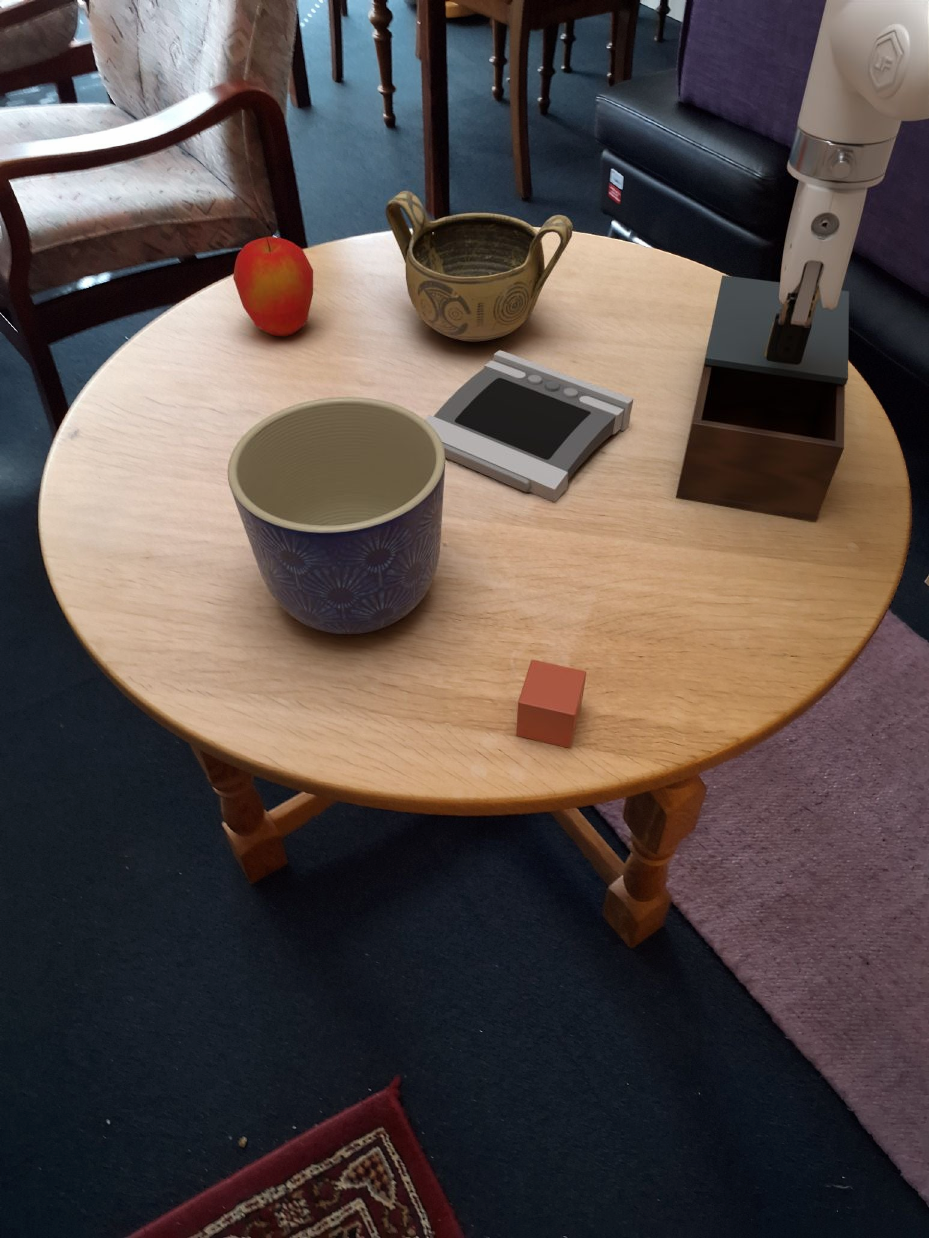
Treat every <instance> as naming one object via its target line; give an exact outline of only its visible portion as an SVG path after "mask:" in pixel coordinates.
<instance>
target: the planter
mask: <svg viewBox="0 0 929 1238" xmlns="http://www.w3.org/2000/svg"><path fill="white" fill-rule="evenodd" d="M445 475H446V458H445V451H444V447H443V444H442V441H441V439H440V437H439V435H438V434H437V433H436V431H435V430H434V429H433V428H432V426H431V425H430V424H429V423H428V422H426V421H425V419H424V418H423V417H421V416H420V415H418V414H417V413H415V412H413V411H412V410H410V409H408V408H405V407H403V406H401V405H398V404H395V403H392V402H389V401H385V400H382V399H381V400H380V399H376V398H370V397H369V398H368V397H359V396H337V397H325V398H319V399H313V400H308V401H304V402H301V403H297V404H294V405H290V406H288V407H286V408H283V409H280V410H277V412H274V413H272V414H270V415H268V416H266V417H265V418H264V419H263V418H262V420H261V421H259V422H258V423H256V424H254V425H253V426H252V427H251V428H250V429H249V430H247V432H246V433H245V434H244V435H242V437H241V438H240V439H239V440H238V442H237V443H236V445H235V447H234V448H233V450H232V452H231V454H230V457H229V460H228V464H227V481H228V485H229V489H230V491H231V494H232V497H233V500H234V503H235V505H236V508H237V511H238V514H239V516H240V519H241V522H242V525H243V528H244V531H245V534H246V536H247V540H248V542H249V546H250V547H251V550H252V553H253V557H254V559H255V561H256V564H257V567H258V570H259V572H260V575H261V577H262V579H263V582H264V584H265V586H266V587H267V589H268V591H269V593H270V594H271V596H272V597H273V599H274V600H275V601H276V602H277V604H278V605H279V606H280V607H281V608H282V609H283V610H284V611H285V612H286V613H287V614H288V615H290V616H291V617H293V618H294V619H296V621H298V622H300V623H302V624H303V625H305V626H307V627H310V628H312V629H315V630H318V631H321V632H326V633H329V634H335V635H359V634H367V633H370V632H374V631H377V630H381V629H383V628H386V627H388V626H391V625H393V624H394V623H396V622H398V621H399V620H401V619H403V618H404V617H406V616H407V615H408V614H409V613H411V612H412V611H413V610H414V609H415V608H416V607H417V606H418V605H419V604H420V602H421V601H422V600H423V599H424V598H425V595H426V594H427V592H428V591H429V589H430V586H431V585H432V583H433V580H434V578H435V575H436V573H437V569H438V564H439V560H440V554H441V544H442V543H441V542H442V541H441V540H442V525H443V510H444V509H443V507H444V493H445V491H444V490H445V477H446V476H445Z"/></svg>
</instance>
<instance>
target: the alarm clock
mask: <svg viewBox="0 0 929 1238" xmlns="http://www.w3.org/2000/svg"><path fill="white" fill-rule="evenodd" d="M633 404H634V398H633V397H630V396H627V395H624V394H621V393H619V392H616V391H614V390H610V389H608V388H605V387H602V386H599V385H597V384H594V383H591V382H589V381H585V380H583V379H580V378H577V377H575V376H572V375H569V374H566V373H563V372H560V371H558V370H555V369H553V368H551V367H548V366H544V365H542V364H539V363H537V362H534V361H531V360H528V359H525V358H523V357H520V356H517V355H514V354H512V353H509V352H506V351H503V350H501V349H499V350H498V351H496V352H495V353H493V359H492V360H490V361H488V362H487V363H485V364H484V367H483V368H482V369H481V370H480V371H478V372H477V373H475V374H474V375H473V376H472V377H470V378H469V379H468V380H467V381H466V382H465V383H464V384H463V385H462V386H461V387H459V388H458V389H457V390H456V391H455V392H454V393H453V395H451V397H449V398H448V399H447V401H445V403H444V404H443V405H442V406H441V407H440V408H439V409H438V410H437V412H435V414H434V415H431V414H428V415H427V417H426V418H425V419H424V420H425V421H426V422H428V423H429V424H430V425H431V426H432V428H433V429H434V430H435V431H436V433H437V434H438V435H439V437H440V439H441V441H442V444H443V447H444V451H445V459H448V460H450V461H452V462H455V463H457V464H459V465H462V466H464V467H467V468H468V469H470V470H473V471H475V472H478V473H480V474H482V475H484V476H487V477H489V478H492V479H494V480H495V481H499V482H501V483H503V484H505V485H508V486H510V487H512V488H515V489H517V490H519V491H522V492H526V493H528V492H530V493H531V494H534V495H536V496H538V497H541V498H544V499H545V500H548V501H550V502H552V503H556V502H557V501H558V500H559V498H560V497H562V495H563V494H564V493H565V491H566V490H567V489H568V483H569V480H570V479H571V477H572V476H573V475H574V474H575V472H576V471H577V470H578V469H579V468H580V466H581V465H582V464H583V463H584V462H585V461H586V460H587V459H588V457H589V456H590V455H592V453H594V451H595V450H596V449H598V448H599V446H600V445H602V443H603V442H605V441H606V440H607V439H608V438H609V437H610V436H611V435H616V434H617V433H618V432H619V431H622V432H624V431H625V430H626V429H627V428H628V427H629V426H630V420H631V415H632V411H633V410H632V409H633Z"/></svg>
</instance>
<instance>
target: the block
mask: <svg viewBox="0 0 929 1238" xmlns="http://www.w3.org/2000/svg"><path fill="white" fill-rule="evenodd" d="M586 678H587V671H585V670H582V669H576V668H572V667H569V666H568V667H567V666H564V665H558V664H554V663H549V662H545V661H539V660H537V659H536V660H535V659H531V660H530V663H529V666H528V670H527V672H526V675H525V679H524V682H523V686H522V688H521V692H520V695H519V698H518V701H517V715H516V730H515V735H516V737H521V738H524V739H525V738H526V739H529V740H533V741H538V742H542V743H546V744H550V745H555V746H560V747H564V748H568V749H570V748H572V744H573V740H574V737H575V733H576V729H577V725H578V722H579V721H578V720H579V717H580V713H581V709H582V704H583V697H584V691H585V685H586Z"/></svg>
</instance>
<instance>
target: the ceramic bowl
mask: <svg viewBox="0 0 929 1238" xmlns="http://www.w3.org/2000/svg"><path fill="white" fill-rule="evenodd" d="M402 210H403V211H402ZM403 212H404V213H403ZM404 214H405V215H406V217H407V219H408V221H409V224H410V226H411V230H412V232H411V230H410V228H409V225H408V223H407V220H406V219H405V217H404ZM385 217H386V220H387V223H388V225H389V227H390V229H391V232H392V234H393V236H394V239H395V240H396V243H397V245H398V248H399V250H400V253H401V256H402V258H403V261H404V263H405V267H404V268H405V283H406V288H407V293H408V296H409V298H410V301H411V304H412V306H413V308H414V309H415V312H416V313H417V314H418V316H419V318H420V319H421V320H422V321H423V322H424V323H425V324H426V325H428V326H429V327H430V328H432V329H433V330H434V331H436V332H438V333H439V334H441V335H443V336H446V337H448V338H450V339H454V340H459V341H463V342H472V343H473V342H474V343H476V342H477V343H479V342H487V341H491V340H495V339H499V338H501V337H505V336H507V335H509V334H511V333H512V332H514V331H516V330H517V329H518V328H519V327H520V326H522V325H523V324H524V323H525V322H526V321H527V320H528V318H529V317H530V316H531V314H532V312H533V311H534V309H535V306H536V304H537V302H538V299H539V297H540V294H541V292H542V290H543V287H544V285H545V283H546V282H547V280H548V278H549V277H550V275H551V273H552V271H553V270H554V268H555V266H556V265H557V263H558V262H559V259H560V258H561V257H562V254H563V253H564V251H565V250H566V248H567V246H568V244H569V243H570V241H571V239H572V237H573V229H574V226H573V223H572V222H571V221H572V220H570V218H569V217H567V216H566V215H561V214H556V215H555V214H554V215H553V216H550V218H548V219H547V220H546V221H545V222H544V223H543V224H542V226H541V227H540V228H539V230H538V231H537V230H536V228H535V227H533V226H532V225H531V224H530V223H528V222H526V221H524V220H522V219H519V218H518V217H517V218H516V217H512V216H509V215H504V214H498V213H491V212H468V213H466V212H465V213H459V214H453V215H448V216H444V217H441V218H438V219H436V220H430V219H429V218H428V216H427V212H426V209H425V208H424V206H423V203H422V202H421V200H420V199H419V198H418V197H417V196H416V195H415V194H414V193H413V192H411V191H409V190H402V191H401V192H398V194H396V195H395V196H393V197H392V198H391V199H390V200H389V201H388V202H387V204H386V206H385ZM548 233H556V234H557V235H558V236H559V239H560V242H559V244H558V247H557V248H556V250H555V252H553V253H554V254H553V255H552V257H551V258H550V260H549V261H548V264H547V265H546V263H545V253H544V247H543V237H545V235H546V234H548ZM545 265H546V266H545Z"/></svg>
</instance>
